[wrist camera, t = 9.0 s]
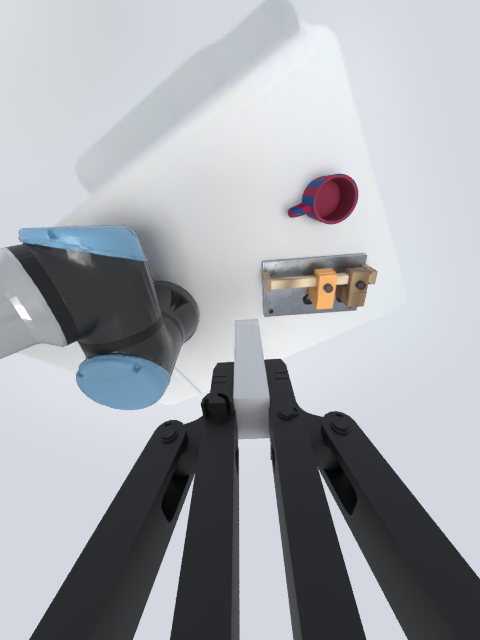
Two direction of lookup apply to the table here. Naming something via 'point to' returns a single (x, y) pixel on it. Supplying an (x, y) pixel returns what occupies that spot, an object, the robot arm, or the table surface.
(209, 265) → the table surface
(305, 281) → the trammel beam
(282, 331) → the table surface
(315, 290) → the slider leg
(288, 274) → the flange plate
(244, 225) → the table surface
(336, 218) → the mug
